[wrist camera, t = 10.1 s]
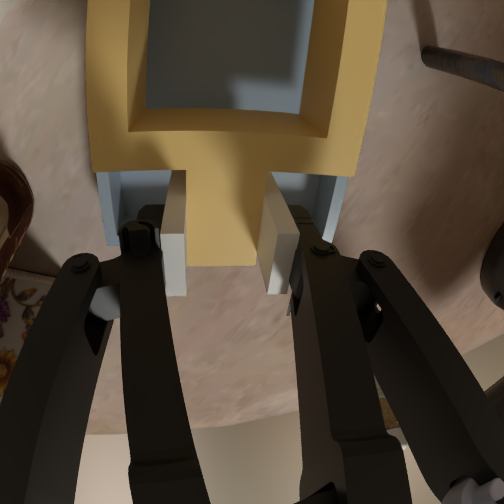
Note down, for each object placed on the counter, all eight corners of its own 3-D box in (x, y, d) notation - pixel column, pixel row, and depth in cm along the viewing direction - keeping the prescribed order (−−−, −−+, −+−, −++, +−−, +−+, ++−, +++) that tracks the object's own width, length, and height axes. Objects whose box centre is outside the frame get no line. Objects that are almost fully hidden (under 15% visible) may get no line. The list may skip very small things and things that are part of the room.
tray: (359, -40, 12) (385, -49, 9) (316, 219, 23) (330, 246, 20) (118, -59, 10) (102, -74, 7) (118, 217, 20) (107, 245, 18)
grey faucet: (447, 0, 13) (585, 20, 4) (437, 70, 16) (571, 126, 8) (429, -9, 13) (571, 3, 4) (419, 64, 16) (558, 115, 7)
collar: (307, 219, 18) (330, 264, 15) (124, 219, 17) (108, 266, 14) (349, -41, 10) (392, -57, 6) (124, -59, 8) (100, -86, 5)
